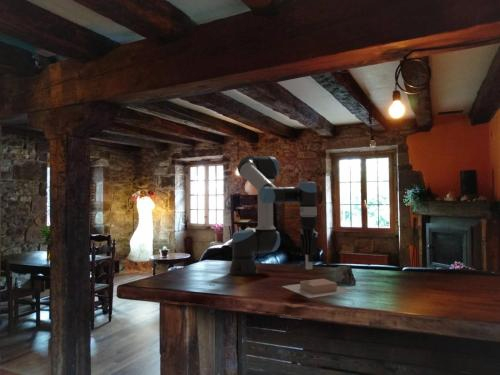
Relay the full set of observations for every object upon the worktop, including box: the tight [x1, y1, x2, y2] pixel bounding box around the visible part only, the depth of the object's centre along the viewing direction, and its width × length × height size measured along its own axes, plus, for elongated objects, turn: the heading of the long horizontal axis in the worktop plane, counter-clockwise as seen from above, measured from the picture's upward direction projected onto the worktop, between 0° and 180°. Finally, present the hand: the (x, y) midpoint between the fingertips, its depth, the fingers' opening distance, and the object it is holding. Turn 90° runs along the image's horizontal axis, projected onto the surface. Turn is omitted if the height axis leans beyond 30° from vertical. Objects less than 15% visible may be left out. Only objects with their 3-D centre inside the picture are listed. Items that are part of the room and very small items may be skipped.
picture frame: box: [299, 278, 338, 294], centre depth 157 cm, size 3×12×10 cm
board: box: [281, 283, 354, 299], centre depth 159 cm, size 22×22×1 cm
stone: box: [333, 265, 357, 286], centre depth 171 cm, size 10×10×10 cm
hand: (309, 268), depth 164 cm, fingers closed
